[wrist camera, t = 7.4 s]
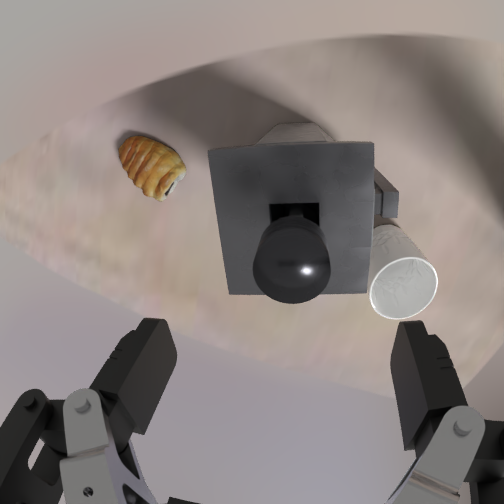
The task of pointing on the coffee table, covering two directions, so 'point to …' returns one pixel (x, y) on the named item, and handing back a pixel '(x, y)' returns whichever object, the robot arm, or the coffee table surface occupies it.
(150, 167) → the pastry
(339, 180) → the square french press
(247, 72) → the coffee table surface
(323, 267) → the plunger
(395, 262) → the white cup
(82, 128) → the coffee table surface
